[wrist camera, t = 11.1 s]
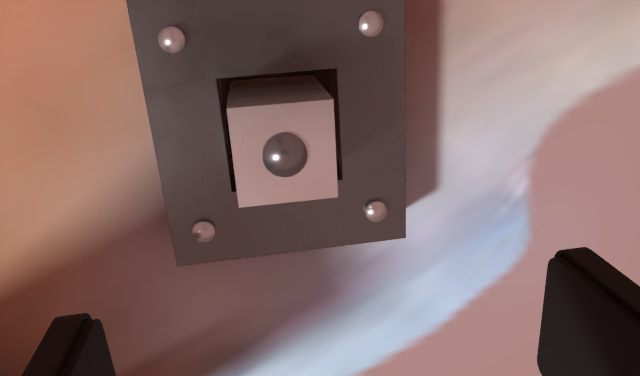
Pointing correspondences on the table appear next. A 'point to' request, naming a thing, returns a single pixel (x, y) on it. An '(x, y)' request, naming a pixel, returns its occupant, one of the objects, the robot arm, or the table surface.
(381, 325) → the table surface
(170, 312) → the table surface
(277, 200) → the cube with chrome dome
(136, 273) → the table surface
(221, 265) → the table surface
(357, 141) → the gray square socket plate
